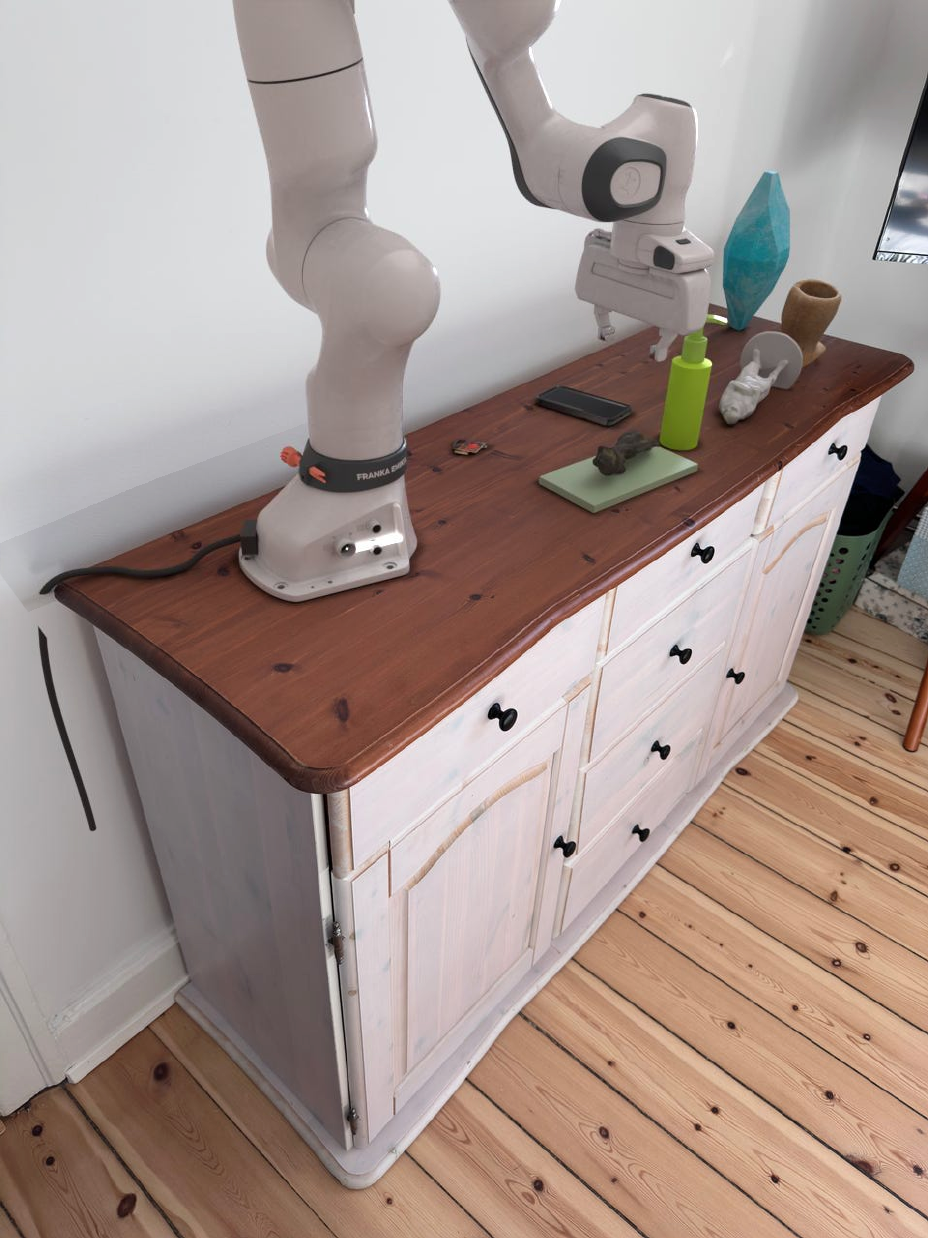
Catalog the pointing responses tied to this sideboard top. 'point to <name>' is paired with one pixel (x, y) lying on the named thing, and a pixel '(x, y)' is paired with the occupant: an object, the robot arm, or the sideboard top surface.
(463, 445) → the matchbox
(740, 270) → the crystal
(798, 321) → the stone cup
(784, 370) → the male figure
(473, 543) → the sideboard top surface
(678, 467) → the board
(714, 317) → the soap dispenser
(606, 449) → the statue
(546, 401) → the phone
